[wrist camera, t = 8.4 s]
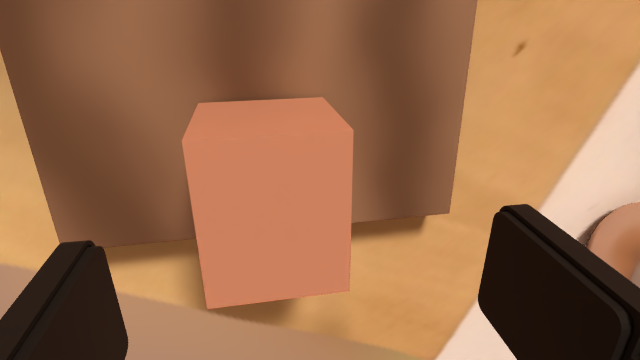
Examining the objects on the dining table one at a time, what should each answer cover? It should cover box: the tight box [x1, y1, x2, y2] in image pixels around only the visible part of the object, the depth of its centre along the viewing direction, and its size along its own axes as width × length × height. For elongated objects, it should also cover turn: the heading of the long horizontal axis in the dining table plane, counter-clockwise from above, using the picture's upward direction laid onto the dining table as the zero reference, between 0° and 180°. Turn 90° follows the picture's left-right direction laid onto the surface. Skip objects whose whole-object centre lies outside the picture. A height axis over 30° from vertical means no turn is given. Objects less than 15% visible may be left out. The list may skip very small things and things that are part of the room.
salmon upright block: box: [182, 97, 354, 309], centre depth 15 cm, size 5×6×5 cm
